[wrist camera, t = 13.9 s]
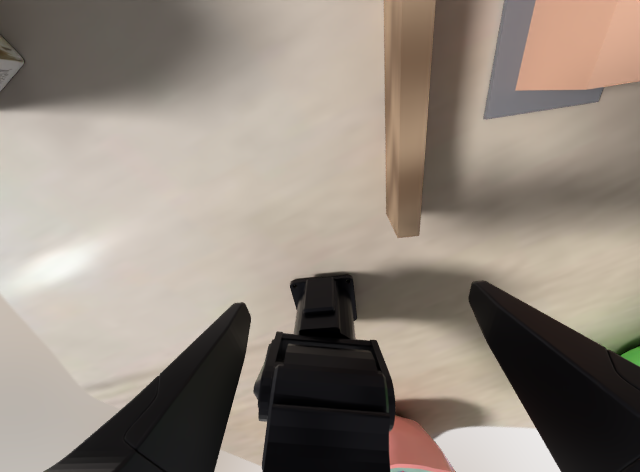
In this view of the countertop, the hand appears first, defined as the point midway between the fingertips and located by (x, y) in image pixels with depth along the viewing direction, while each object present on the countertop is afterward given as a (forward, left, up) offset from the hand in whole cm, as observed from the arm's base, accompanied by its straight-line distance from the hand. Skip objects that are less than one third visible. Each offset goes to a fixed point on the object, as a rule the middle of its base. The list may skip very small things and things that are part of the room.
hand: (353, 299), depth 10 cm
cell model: (-42, -2, -12) cm, 44 cm away
